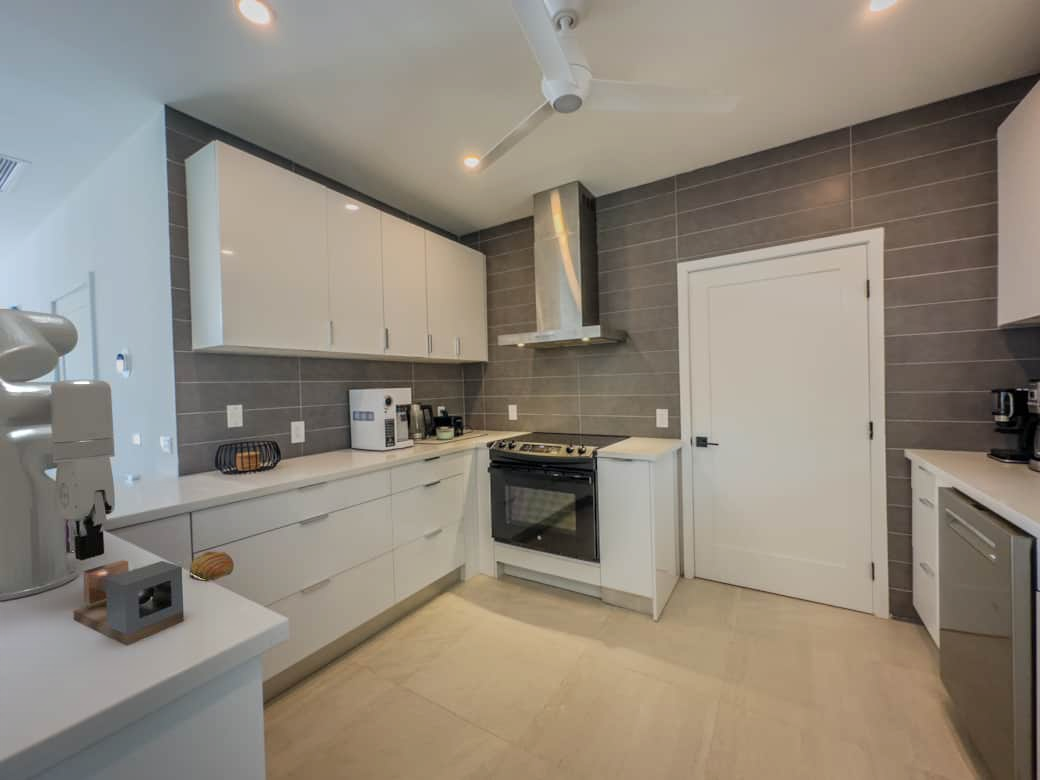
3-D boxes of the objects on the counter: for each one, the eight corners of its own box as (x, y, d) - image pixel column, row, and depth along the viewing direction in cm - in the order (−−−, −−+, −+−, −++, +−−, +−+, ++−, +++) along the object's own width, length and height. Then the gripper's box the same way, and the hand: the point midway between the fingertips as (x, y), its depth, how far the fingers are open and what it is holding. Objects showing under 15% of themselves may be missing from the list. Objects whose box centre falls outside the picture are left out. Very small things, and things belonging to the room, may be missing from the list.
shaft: (84, 602, 69) (83, 571, 69) (123, 588, 74) (122, 559, 74) (122, 618, 63) (120, 584, 63) (162, 602, 68) (161, 571, 68)
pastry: (243, 573, 85) (242, 554, 85) (203, 587, 80) (202, 567, 80) (224, 564, 91) (223, 546, 91) (185, 576, 85) (184, 557, 85)
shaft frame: (73, 619, 69) (71, 566, 69) (128, 599, 75) (127, 551, 75) (127, 645, 61) (124, 585, 61) (183, 620, 67) (181, 566, 67)
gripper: (36, 454, 74) (42, 560, 74) (72, 454, 67) (78, 570, 67) (94, 448, 81) (99, 545, 81) (132, 447, 74) (138, 553, 74)
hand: (90, 556), depth 74 cm, fingers closed
